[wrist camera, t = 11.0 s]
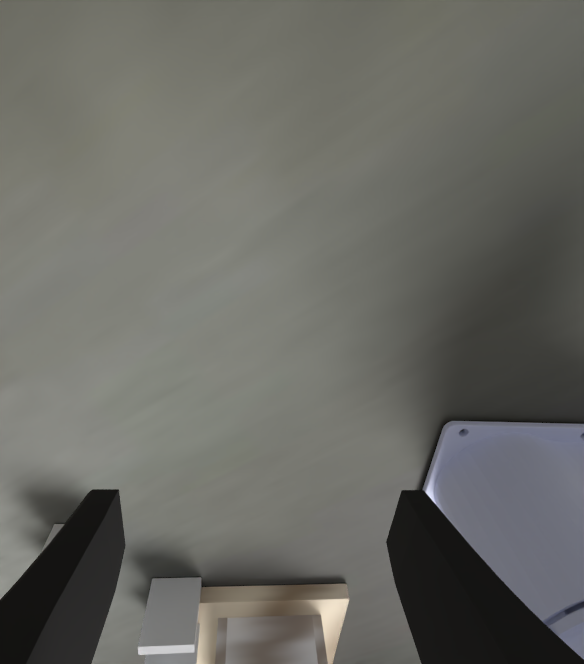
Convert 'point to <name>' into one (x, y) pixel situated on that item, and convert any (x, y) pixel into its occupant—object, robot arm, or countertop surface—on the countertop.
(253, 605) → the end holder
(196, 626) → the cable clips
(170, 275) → the countertop surface
